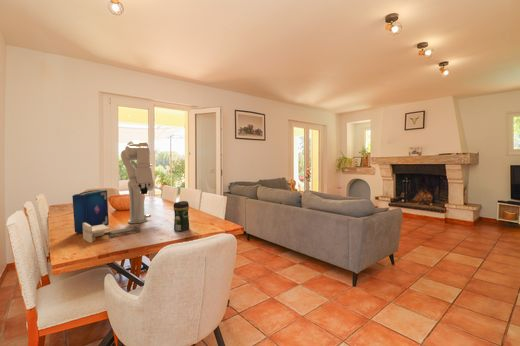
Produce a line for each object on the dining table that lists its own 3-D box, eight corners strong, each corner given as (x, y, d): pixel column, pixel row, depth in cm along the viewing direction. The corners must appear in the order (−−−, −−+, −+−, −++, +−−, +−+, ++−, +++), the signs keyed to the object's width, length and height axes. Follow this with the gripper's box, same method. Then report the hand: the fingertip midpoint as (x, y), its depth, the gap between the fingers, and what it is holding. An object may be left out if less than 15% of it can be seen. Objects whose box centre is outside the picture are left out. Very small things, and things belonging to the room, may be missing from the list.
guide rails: (133, 228, 168) (133, 227, 168) (140, 231, 161) (140, 230, 161) (103, 234, 155) (103, 232, 155) (109, 238, 148) (109, 236, 148)
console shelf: (103, 234, 155) (103, 219, 155) (110, 238, 147) (109, 223, 147) (83, 238, 147) (82, 222, 147) (89, 242, 139) (88, 226, 139)
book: (81, 234, 155) (80, 193, 154) (72, 233, 156) (70, 193, 155) (109, 225, 176) (108, 189, 175) (100, 225, 177) (99, 189, 176)
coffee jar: (181, 227, 172) (181, 200, 171) (191, 228, 168) (190, 200, 168) (171, 231, 163) (171, 202, 162) (181, 232, 160) (181, 203, 159)
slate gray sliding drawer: (136, 230, 167) (135, 224, 167) (140, 232, 162) (140, 226, 162) (108, 235, 155) (108, 229, 155) (112, 237, 150) (112, 231, 150)
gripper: (152, 165, 174) (153, 192, 175) (128, 166, 163) (129, 194, 164) (157, 165, 169) (158, 193, 170) (133, 166, 158) (134, 195, 158)
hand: (144, 193), depth 167 cm, fingers closed
